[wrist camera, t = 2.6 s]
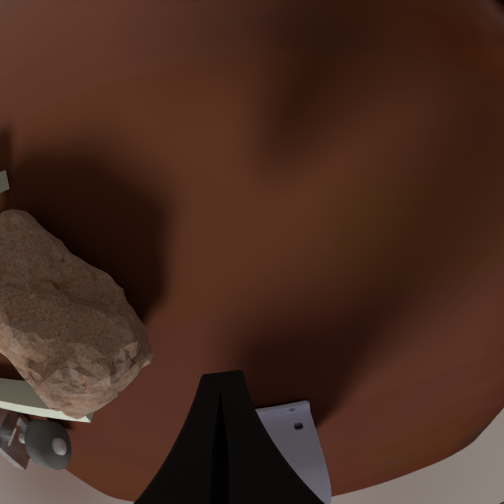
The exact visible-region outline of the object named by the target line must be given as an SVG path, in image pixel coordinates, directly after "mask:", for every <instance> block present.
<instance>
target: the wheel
mask: <svg viewBox="0 0 504 504" xmlns="http://www.w3.org/2000/svg"><path fill="white" fill-rule="evenodd" d="M19 440H20V442H21V443H24V444H25V447H26V450H27V453H28V455H29V456H30V458H31V459H32V460H33V461H34V462H35V463H37V464H39V465H42V466H46V467H49V468H53V469H57V470H60V469H63V468H65V467H66V466H67V465H68V463H69V461H70V458H71V442H70V438H69V436H68V433H67V431H66V430H65V428H64V427H63V426H62V425H61V424H59V423H57V422H52V421H45V420H40V419H35V420H32V421H31V422H30V423H29V424H28V425H27V427H26V430H25V434H24V433H20V434H19Z"/></svg>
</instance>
